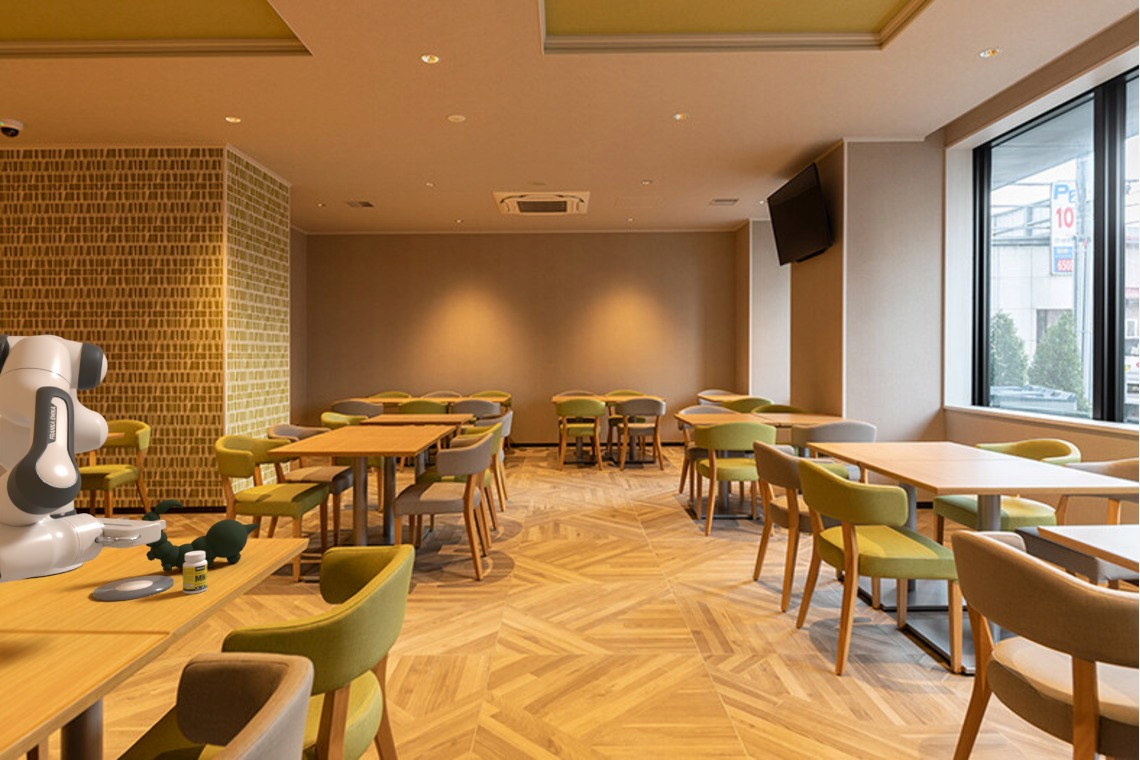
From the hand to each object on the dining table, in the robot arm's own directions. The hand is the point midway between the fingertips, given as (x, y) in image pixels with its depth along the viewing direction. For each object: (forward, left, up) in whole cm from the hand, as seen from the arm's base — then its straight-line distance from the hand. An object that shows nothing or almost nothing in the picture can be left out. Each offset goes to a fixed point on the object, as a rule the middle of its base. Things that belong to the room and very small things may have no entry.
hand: (144, 522), depth 136 cm
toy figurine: (-13, +27, -18) cm, 35 cm away
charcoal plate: (-14, +9, -18) cm, 24 cm away
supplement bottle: (0, +12, -18) cm, 22 cm away
